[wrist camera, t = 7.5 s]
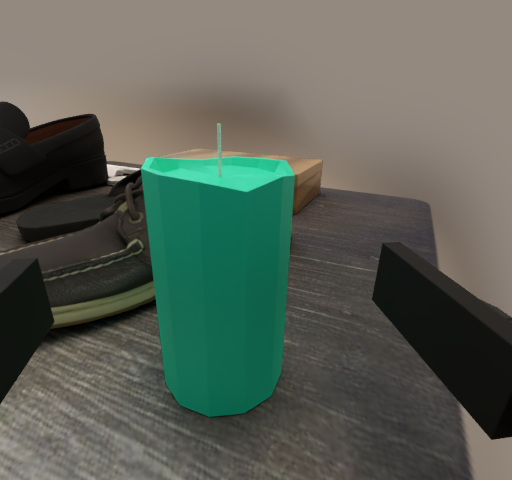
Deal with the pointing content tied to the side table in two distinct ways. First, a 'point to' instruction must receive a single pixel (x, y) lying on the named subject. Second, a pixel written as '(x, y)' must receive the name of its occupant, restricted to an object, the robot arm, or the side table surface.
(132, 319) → the side table surface
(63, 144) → the loafer
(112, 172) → the white plastic blade
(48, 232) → the sandal
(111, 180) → the white ridged disc
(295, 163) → the oak shelf
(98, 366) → the side table surface
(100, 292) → the boat shoe
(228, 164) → the candle
